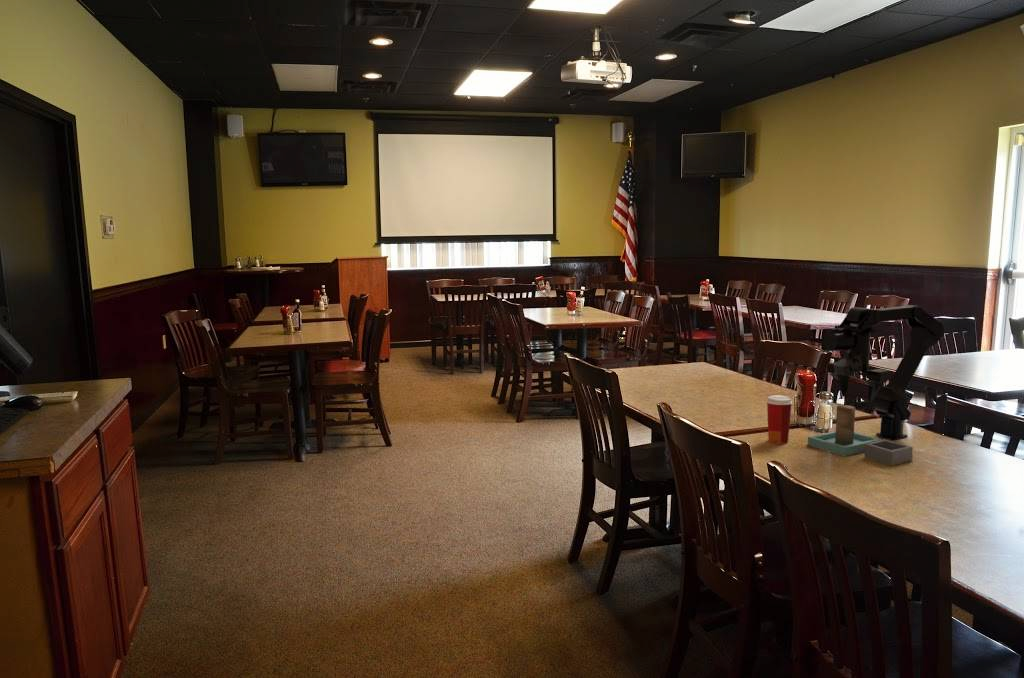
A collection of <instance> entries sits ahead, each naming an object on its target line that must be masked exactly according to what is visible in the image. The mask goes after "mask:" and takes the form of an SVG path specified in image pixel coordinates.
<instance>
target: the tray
mask: <svg viewBox="0 0 1024 678" xmlns="http://www.w3.org/2000/svg"><path fill="white" fill-rule="evenodd" d="M835 433H836V430H834V431H830V432H825V433H820V434H815V435H810V436H807V446H810V447H814V448H816V449H820V450H823V451H827V452H830V453H833V454H836V455H839V456H843V457H847V456H850V455H856V454H859V452H860V453H865V444H867V443H871V442H876V441H880V440H883V439H882V438H878V437H875V436H871V435H867V434H863V433H861V432H860V433H859V432H855V431H854V440H853V444H851V445H840V444H837V443H835ZM855 453H856V454H855Z"/></svg>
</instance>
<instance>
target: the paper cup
mask: <svg viewBox="0 0 1024 678" xmlns="http://www.w3.org/2000/svg"><path fill="white" fill-rule="evenodd" d="M765 402H766V409H767V413H766V414H767V433H768V434H767V436H768V437H767V438H768V443H770V442H771V444H774V445H787V444H788V443H789V434H790V426H791V425H790V424H791V415H792V414H791V413H792V412H791V411H792V404H793V403H794V402H793V401H792V398H791V397H789V396H786V395H777V394H776V395H769V396H768V397H767V398H766V400H765Z"/></svg>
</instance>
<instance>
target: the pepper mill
mask: <svg viewBox="0 0 1024 678" xmlns="http://www.w3.org/2000/svg"><path fill="white" fill-rule="evenodd" d="M855 418H856V407H855V406H852V405H847V404H845V405H844V404H843V405H842V404H841V405H837V406H836V417H835V419H836V420H835V431H836V433H835V443H837V444H840V445H851V444H853V440H854V432H855V422H856V421H855V420H856V419H855Z"/></svg>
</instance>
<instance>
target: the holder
mask: <svg viewBox="0 0 1024 678" xmlns="http://www.w3.org/2000/svg"><path fill="white" fill-rule="evenodd" d="M913 447H914V446H910V445H907V444H903V443H900V442H897V441H892V440H890V439H889V440H888V439H882V440H880V441H876V442H871V443H867V444H865V451H864V452H863V453H864V455H863V457H865V459H868V460H872V461H874V460H875V461H876V462H878V463H882V464H885V465H887V464H888V466H892V467H893V466H896V464H897V465H900V463H901V464H904V463H903V462H905V463H909V462H911V461H913V450H914V448H913ZM908 461H909V462H908Z"/></svg>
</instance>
